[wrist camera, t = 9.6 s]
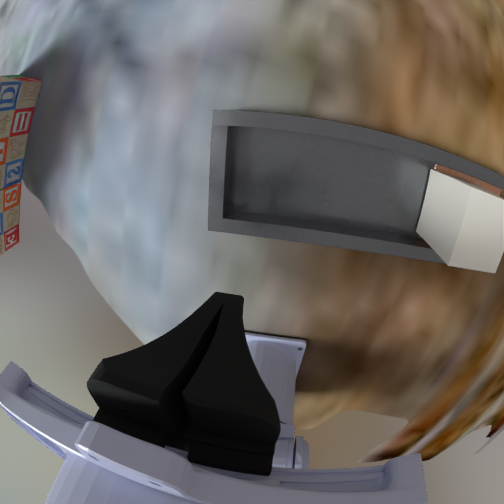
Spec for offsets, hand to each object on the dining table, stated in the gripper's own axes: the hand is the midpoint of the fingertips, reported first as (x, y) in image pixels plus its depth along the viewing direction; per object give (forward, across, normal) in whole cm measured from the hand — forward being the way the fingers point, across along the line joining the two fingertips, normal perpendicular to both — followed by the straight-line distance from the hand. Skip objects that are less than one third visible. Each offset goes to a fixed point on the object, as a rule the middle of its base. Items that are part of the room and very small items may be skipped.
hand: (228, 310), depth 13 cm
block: (+9, -15, -5) cm, 18 cm away
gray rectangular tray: (+9, -9, -5) cm, 14 cm away
